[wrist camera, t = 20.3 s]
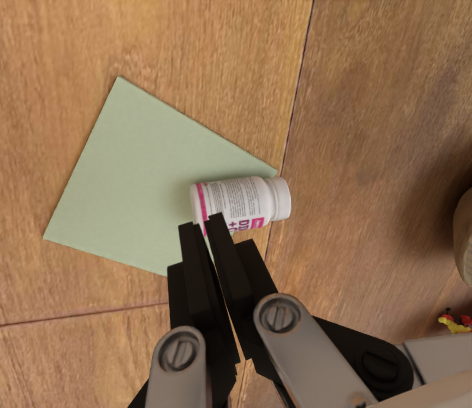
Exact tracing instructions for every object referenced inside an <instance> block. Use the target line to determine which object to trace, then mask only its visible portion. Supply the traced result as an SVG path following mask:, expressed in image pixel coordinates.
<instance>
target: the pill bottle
mask: <svg viewBox="0 0 472 408" xmlns="http://www.w3.org/2000/svg"><path fill="white" fill-rule="evenodd" d="M190 198H191V206H192V212H193V217H194V224H197V223H199V224H200V227H201V230H202V233H203V236H204V237H205V236H207V233H206V229H205V226H204V222H203V221H206V220H209V218H208V216H209V215H213V214H216V213H219V212H222V214H223V216H224V219H225V222H226V224H227V227H228V229H229V232H235V231H241V230H247V229H253V228H260V227H263V226H265V225H267V224H268V222H269V220H271V221H278V220H282V219H287V218H288V217H289V215H290V211H291V197H290V192H289V188H288V185H287V183H286V181H285V180H284V179H283V178H282V177H274V178H266V179H265V180H263V179H262V178H260V177H258V176H250V177H243V178H236V179H229V180H222V181H214V182H206V183H196V184H192V185H191V186H190Z"/></svg>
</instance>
